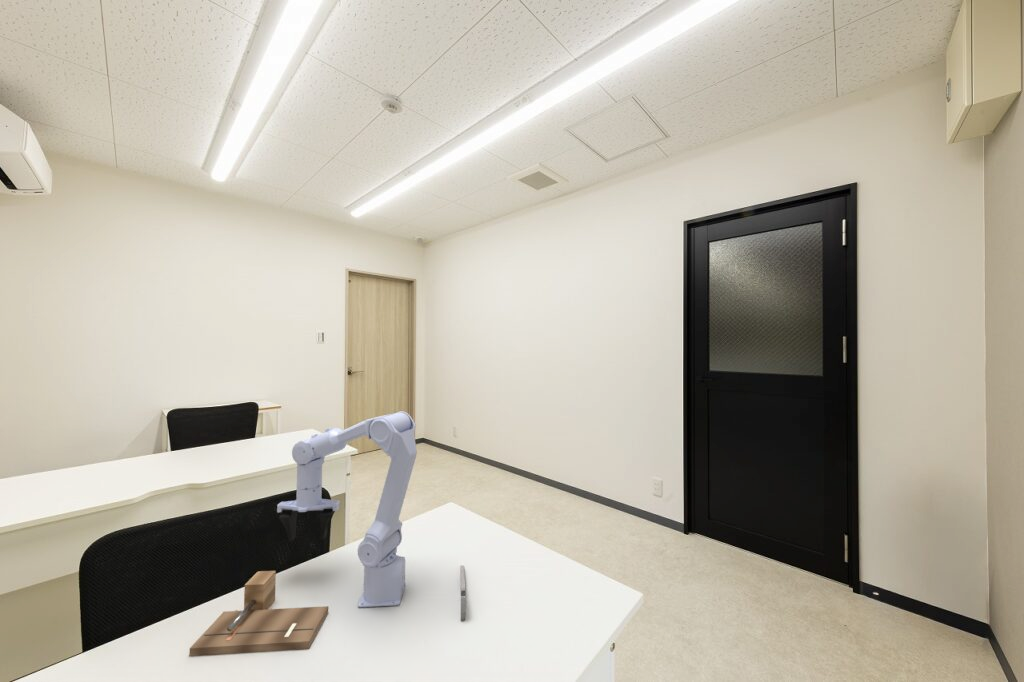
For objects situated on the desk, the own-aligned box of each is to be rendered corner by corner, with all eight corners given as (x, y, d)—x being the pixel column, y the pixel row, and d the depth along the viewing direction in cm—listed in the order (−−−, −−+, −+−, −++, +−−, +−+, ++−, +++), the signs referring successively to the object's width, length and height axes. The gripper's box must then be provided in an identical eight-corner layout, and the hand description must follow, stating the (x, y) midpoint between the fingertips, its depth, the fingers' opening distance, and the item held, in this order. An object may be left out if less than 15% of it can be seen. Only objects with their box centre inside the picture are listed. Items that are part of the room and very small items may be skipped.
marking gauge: (275, 600, 88) (275, 570, 88) (239, 644, 75) (240, 609, 75) (257, 601, 88) (257, 571, 88) (218, 645, 75) (219, 610, 75)
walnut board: (328, 612, 85) (328, 605, 85) (309, 648, 75) (309, 640, 75) (223, 618, 82) (223, 611, 82) (189, 656, 72) (189, 647, 72)
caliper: (465, 622, 83) (465, 594, 83) (460, 623, 83) (460, 594, 83) (464, 568, 103) (464, 545, 103) (460, 568, 103) (460, 545, 103)
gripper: (271, 492, 92) (269, 547, 92) (333, 490, 93) (331, 545, 93) (285, 481, 99) (284, 533, 99) (342, 480, 100) (341, 531, 100)
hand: (308, 538), depth 97 cm, fingers open, 7 cm apart
